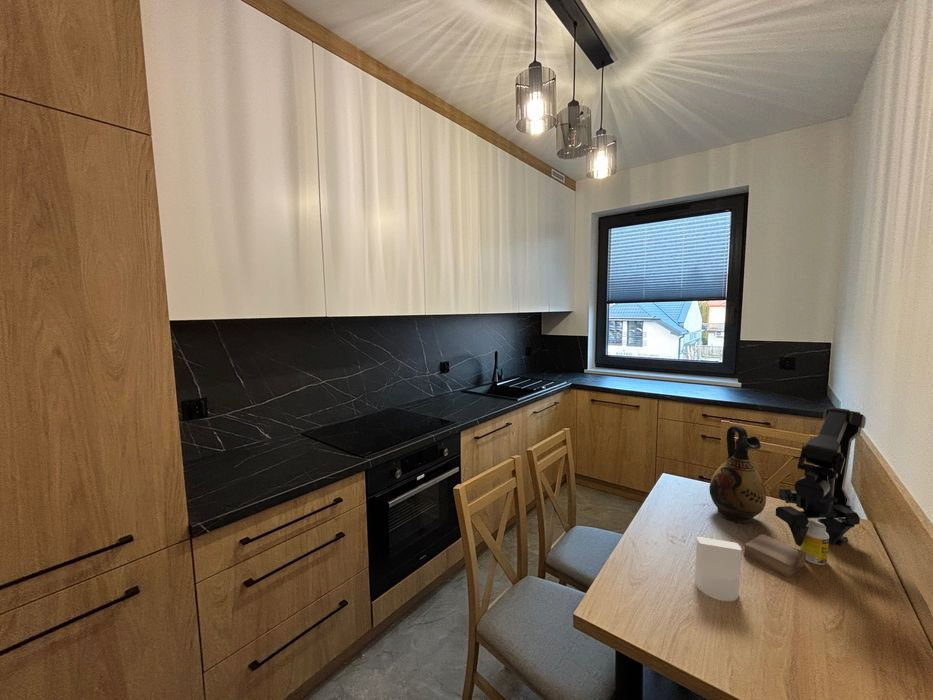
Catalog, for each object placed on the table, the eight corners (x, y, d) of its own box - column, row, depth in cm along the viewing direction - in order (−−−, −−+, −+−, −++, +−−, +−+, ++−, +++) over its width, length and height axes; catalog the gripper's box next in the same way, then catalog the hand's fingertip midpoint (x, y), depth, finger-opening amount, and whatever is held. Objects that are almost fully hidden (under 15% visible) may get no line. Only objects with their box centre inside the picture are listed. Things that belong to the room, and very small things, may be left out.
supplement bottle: (823, 568, 99) (826, 532, 98) (796, 557, 104) (799, 522, 103) (829, 561, 102) (832, 525, 101) (803, 550, 107) (806, 516, 106)
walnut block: (761, 546, 110) (762, 533, 109) (805, 566, 101) (806, 552, 100) (743, 557, 105) (744, 544, 104) (787, 579, 96) (789, 565, 96)
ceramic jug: (777, 528, 118) (784, 435, 115) (727, 528, 118) (733, 436, 115) (739, 501, 135) (744, 420, 132) (695, 501, 135) (700, 420, 132)
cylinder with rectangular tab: (731, 581, 95) (734, 536, 94) (744, 607, 87) (747, 558, 86) (690, 573, 98) (692, 529, 97) (699, 598, 90) (702, 550, 88)
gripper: (822, 476, 110) (818, 527, 111) (760, 478, 109) (757, 529, 110) (864, 494, 99) (858, 550, 100) (796, 496, 98) (791, 553, 99)
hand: (814, 544), depth 103 cm, fingers open, 9 cm apart
